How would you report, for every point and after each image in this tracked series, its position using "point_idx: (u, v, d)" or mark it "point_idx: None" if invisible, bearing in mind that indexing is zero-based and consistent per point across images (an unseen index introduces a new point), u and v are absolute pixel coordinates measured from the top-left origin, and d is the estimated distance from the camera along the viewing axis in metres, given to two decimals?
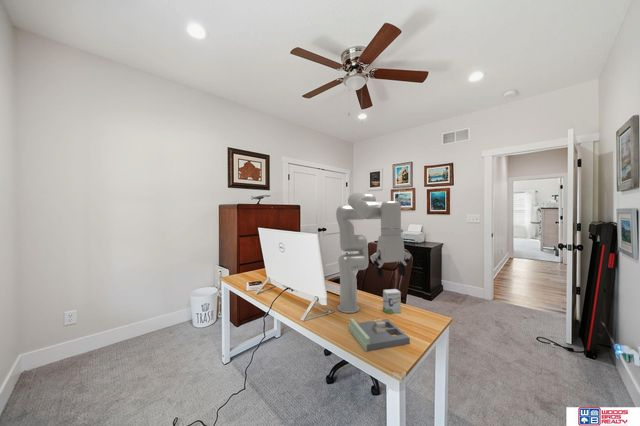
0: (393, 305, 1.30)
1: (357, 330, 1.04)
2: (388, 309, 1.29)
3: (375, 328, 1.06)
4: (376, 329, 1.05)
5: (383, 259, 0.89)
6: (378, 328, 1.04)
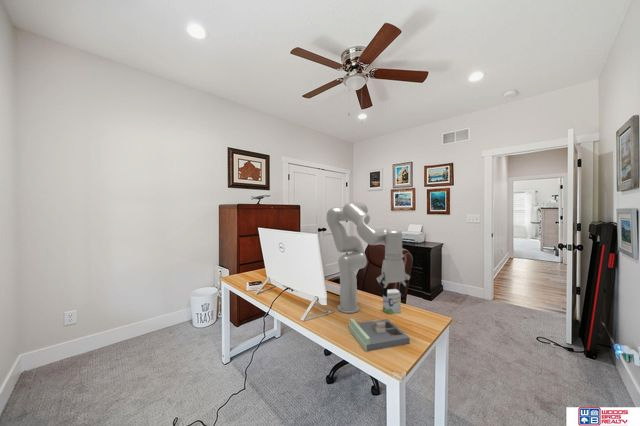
0: (393, 305, 1.30)
1: (357, 330, 1.04)
2: (388, 309, 1.29)
3: (375, 328, 1.06)
4: (376, 329, 1.05)
5: (387, 280, 1.05)
6: (378, 328, 1.04)
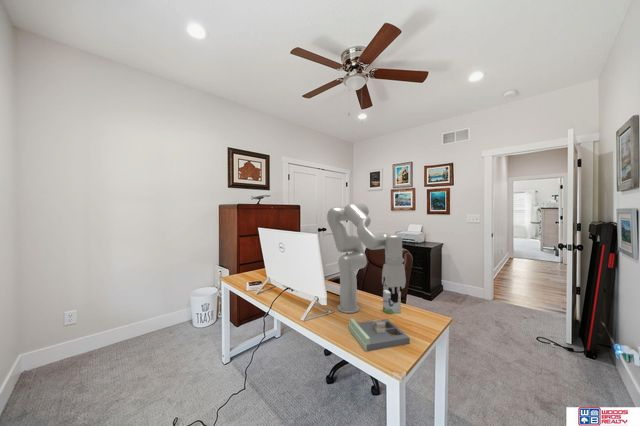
0: (393, 305, 1.30)
1: (357, 330, 1.04)
2: (388, 309, 1.29)
3: (375, 328, 1.06)
4: (376, 329, 1.05)
5: (387, 285, 1.05)
6: (378, 328, 1.04)
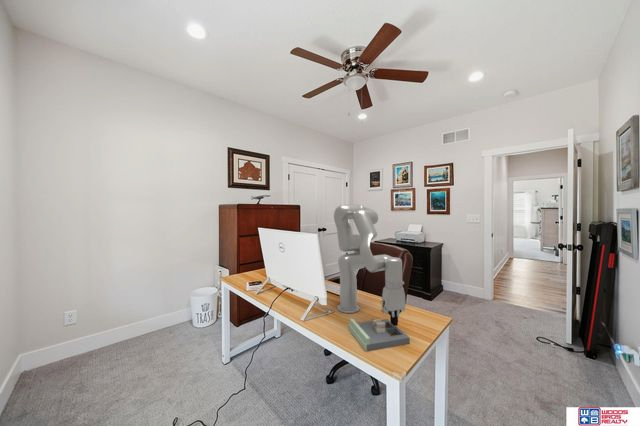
0: None
1: (357, 330, 1.04)
2: None
3: (375, 328, 1.06)
4: (376, 329, 1.05)
5: (387, 308, 1.05)
6: (378, 328, 1.04)
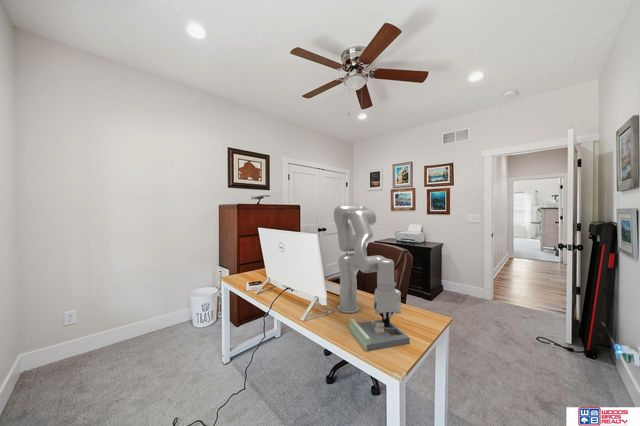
0: None
1: (357, 330, 1.04)
2: None
3: (374, 328, 1.05)
4: (375, 329, 1.05)
5: (379, 310, 1.04)
6: (377, 328, 1.04)
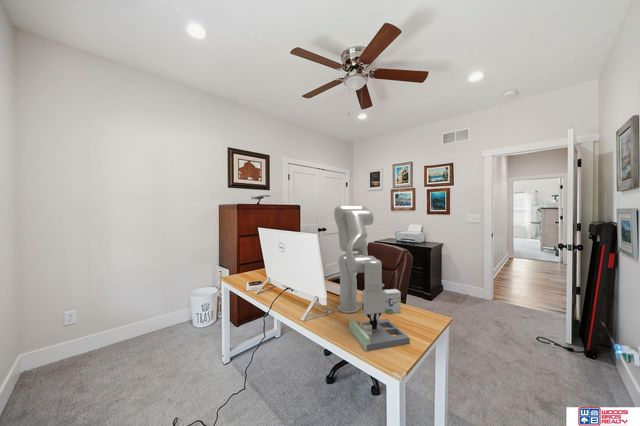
0: (393, 305, 1.30)
1: (357, 330, 1.04)
2: (388, 309, 1.29)
3: None
4: None
5: (366, 312, 1.03)
6: (364, 331, 1.02)
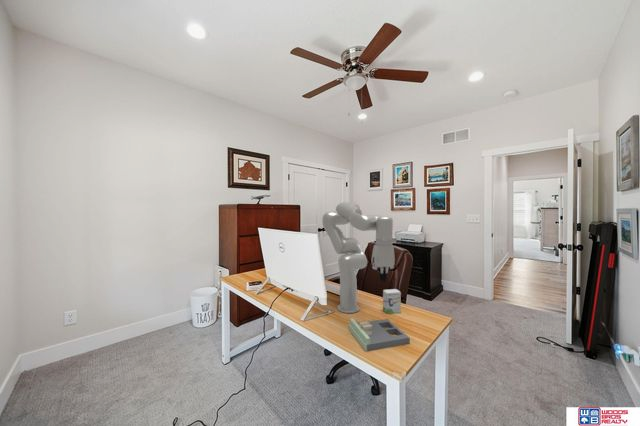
0: (393, 305, 1.30)
1: (357, 330, 1.04)
2: (388, 309, 1.29)
3: None
4: None
5: (376, 264, 1.09)
6: (364, 331, 1.02)
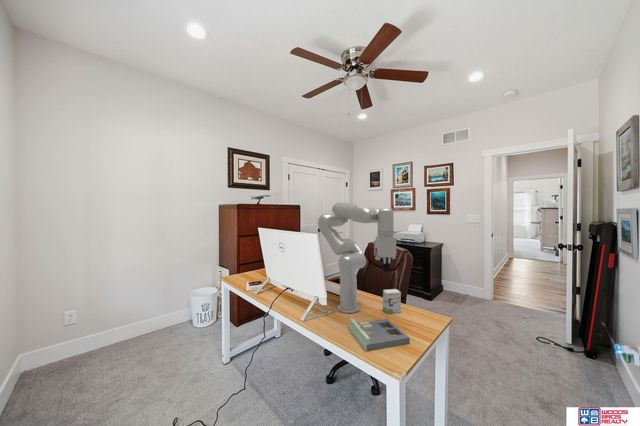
0: (393, 305, 1.30)
1: (357, 330, 1.04)
2: (388, 309, 1.29)
3: None
4: None
5: (379, 255, 1.12)
6: (364, 331, 1.02)
